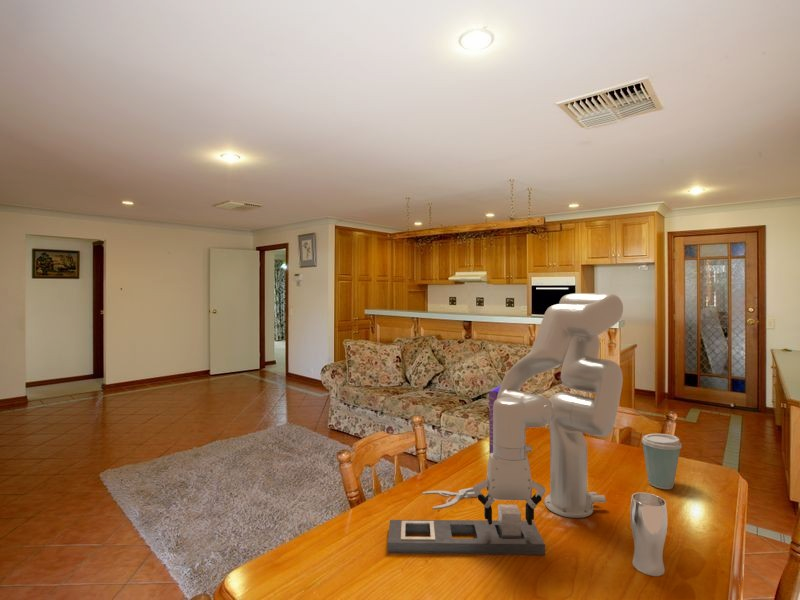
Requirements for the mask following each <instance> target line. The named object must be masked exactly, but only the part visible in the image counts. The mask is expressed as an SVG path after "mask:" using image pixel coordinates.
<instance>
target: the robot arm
mask: <svg viewBox="0 0 800 600" xmlns="http://www.w3.org/2000/svg"><path fill="white" fill-rule="evenodd" d="M623 312H624V305H623V301H622V300H621V297H619V296H618V295H616V294H614V293H599V292H597V293H588V292H585V293H584V292H581V293H580V292H578V293H577V292H576V293H575V292H574V293H569V294H565V295H563V296H562V297H561V298H560V300H559V302H558V303H556V304H553V305H551V306H549V307H547V309H546V311H545V312H544V315H543V317H542V320H541V323H540V326H539V329H538V330H537V334H536V336H535V339H534V342H533V345H532V347H531V350H530V351H529V353H527V354H526V355H524V356H523V357H522V358H520V359H519V360H517V362H515V363H514V364H513V366H511V367H510V368H509V370H507V372H506V374H505V375H504V376H503V379H502V382H501V384H500V385H501V386H500V385H499V386H500V389H499V392H498V395H497V399H496V400H495V401H494V404H493V453H491V454H490V453H489V456H488V462H487V470H486V479H484V480H482V481H480V482H478V483H477V484H474V485H473V486H472V488H473V490H474V492H475V494H476V496H477V497H476V498H477V500H478V501H479V502H480V503H481V504H482V505H483V506H484V507H483V508H484V509H483V510H484V512H483V513H484V514H483V515H484V519H485V520H488V524H489V525H491V524H492V520H493V508H492V504H493V503H494V502H495V501H525V521H527V523H528V525H532V521H534V520H535V509H536V507H537V505H539V503H540V502H542V500H543V499H542V498H544V506H545V507H546V508H547V510H549V511H551V512H552V513H555V514H556V515H559V516H561V517H567V518H570V519H572V518H573V519H581V518H587V517H588V516H591V515H592V514H593V512H594V504H595V503H598V504H601V503H602V504H606V501H607V500H606V496H605V495H604V494H597V492H596V491H588V444H587V441H586V438H585V436H584V434H586V435H591V436H595V437H599V438H604V437H607V436H609V435H610V434H611V433H612V431H613V429H614V427H615V424H616V423H615V422H616V420H617V414H618V409H619V404H620V400H621V394H622V389H623V382H624V379H623V378H624V377H623V371H622V368H621V367H620V365H619V364H618V363H617V362H616V361H614V360H610V359H606V358H605V359H604V358H599V353H600V347H601V341H600V338H599V336H600V335H601V334H603V333H605V331H607V330H609V329H611V328H612V327H614V326H615V325H617V324H618V322H620V320H621V318H622V316H623ZM560 367H561V372H560V381H561V383H562V385H563V386H564V387H566V388H569V389H571V390H575V391H579V392H583V393H584V392H585V393H591V394H595V397H590V396H584V395H581V394H576V393H572V392H570V393H569V392H557V393H554V394H552V395H551V396H549V397H548V398H547V397H545V396H543V395H538V394H534V393H529V392H525V391H521V389H522V387H523V385H524V384H525V383H526V382H527V381H528V380H529V379H530V378H533V377H535V376H536V375H538V374H542V373H544V372H545V373H546V372H548V371H551V370H554V369H557V368H560ZM547 425H548V426H549V434H550V439H549V441H550V444H549V445H550V448H549V449H550V457H549V458H550V466H549V467H550V475H549V476H550V487H549V488H550V492H549V494H546V492H547V490H546V488H545V487H544V486H543V485H541V484H540V483H538V482H536V481H534V480H532V474H531V473H532V472H531V466H530V460H529V457H528V455H527V454H528V453H530V452H531V453H532V446H531V445H527V444H526V437H527V435H526V429H528V428H529V429H530V428H540V427H541V428H542V427H544V426H547ZM484 489H486V491H487V492H488V493H486V495H483V493H482V492H481V491H483V490H484ZM533 489H535V490H536V493H534V495H532V493H533V491H532V490H533ZM545 494H546V496H545ZM544 496H545V497H544Z"/></svg>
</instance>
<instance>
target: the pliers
mask: <svg viewBox="0 0 800 600" xmlns="http://www.w3.org/2000/svg"><path fill="white" fill-rule="evenodd" d="M435 494H436V495H440V496H441V497H445V498H446V497H447V498H448V499H446V501H445V502H446V503H443V504H440V505H435V506H432V510H437V509H438V510H439V509H445V508H448V507H452V506H453V505H455V504H457V503H458V502H459V501H460V500H463V499H471V497H473V498H477V496H476V494H475V492H474V490H473V487H469V488H467V487H466V488H462V489H460V490H458V492H452V491H448V490H428V491H423V492H422V495H435ZM445 494H446V495H445ZM450 495H451V496H452V497H454V498H453V499H452V497H450ZM455 495H456V496H455Z"/></svg>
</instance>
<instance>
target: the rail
mask: <svg viewBox="0 0 800 600" xmlns="http://www.w3.org/2000/svg"><path fill="white" fill-rule="evenodd" d="M407 535H429V536H407ZM453 535H467V536H468V535H472V536H473V535H474V538H463V537H462V538H457V537H454V538H453ZM387 554H397V555H398V554H404V555H405V554H406V555H407V554H409V555H411V554H417V555H420V554H421V555H425V554H426V555H511V556H512V555H513V556H514V555H516V556H517V555H518V556H519V555H521V556H522V555H523V556H524V555H525V556H531V555H532V556H545V555H546V543H545V541H544V539H543V537H542V534H541V533H540V531H539V529H538V528H537V525H536V523H535V521H534V520H532V525H528V523H527V520H521V539H499V536H498V519H497V520H496V519H495V520H493V519H492V524H491V525H489V524H488V520H487V519H485V520H482V519H478V520H477V519H471V520H470V519H463V520H462V519H459V520H458V519H389V527H388V536H387Z"/></svg>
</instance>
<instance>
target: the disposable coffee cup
mask: <svg viewBox="0 0 800 600" xmlns="http://www.w3.org/2000/svg"><path fill="white" fill-rule="evenodd" d="M641 443H642V444H641V445H642V449H643V455H644V462H645V469H646V473H647V474H646V475H647V481H648V482H649V484H650V486H653V488H657V489H660V490H661V489H662V490H672V489H673V487H674V485H675V481H676V475H677V469H678V463H679V457H680V452H681V451H680V450H681V449H682V443H681V441H680V437H678V436H676V435H672V434H668V433H667V434H666V433H649V434H645V435H643V437H642V438H641Z"/></svg>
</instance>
